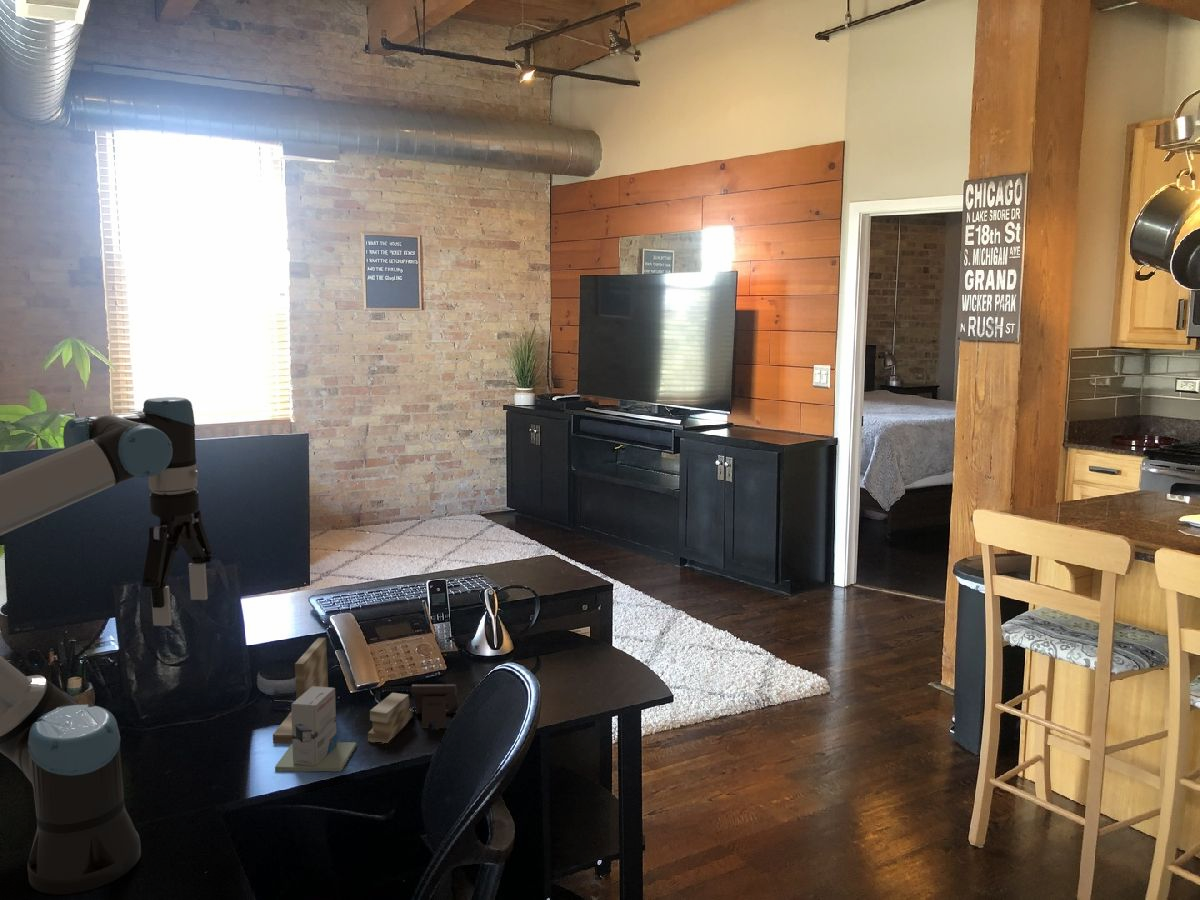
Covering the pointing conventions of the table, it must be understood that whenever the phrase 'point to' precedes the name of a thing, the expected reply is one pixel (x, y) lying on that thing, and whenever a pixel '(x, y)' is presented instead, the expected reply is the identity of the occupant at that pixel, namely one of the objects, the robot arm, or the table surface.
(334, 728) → the ink box
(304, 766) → the sage mat
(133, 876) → the table surface
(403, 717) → the offcut stack
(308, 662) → the wooden bookend
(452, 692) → the portable electronic device stand
